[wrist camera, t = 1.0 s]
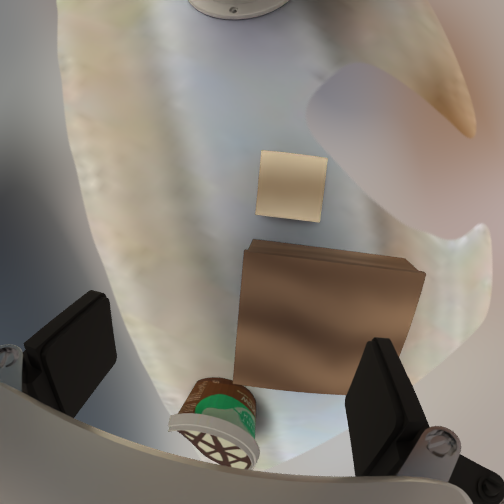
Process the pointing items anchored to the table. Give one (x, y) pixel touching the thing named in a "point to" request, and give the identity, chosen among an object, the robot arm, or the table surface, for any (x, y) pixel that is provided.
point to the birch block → (291, 186)
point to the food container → (220, 422)
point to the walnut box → (318, 314)
